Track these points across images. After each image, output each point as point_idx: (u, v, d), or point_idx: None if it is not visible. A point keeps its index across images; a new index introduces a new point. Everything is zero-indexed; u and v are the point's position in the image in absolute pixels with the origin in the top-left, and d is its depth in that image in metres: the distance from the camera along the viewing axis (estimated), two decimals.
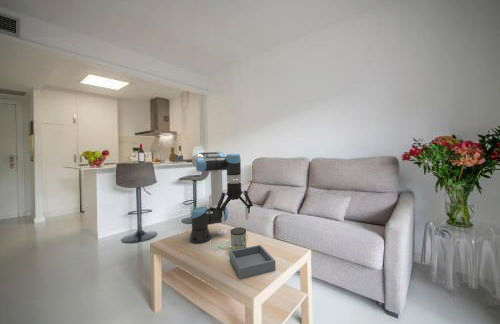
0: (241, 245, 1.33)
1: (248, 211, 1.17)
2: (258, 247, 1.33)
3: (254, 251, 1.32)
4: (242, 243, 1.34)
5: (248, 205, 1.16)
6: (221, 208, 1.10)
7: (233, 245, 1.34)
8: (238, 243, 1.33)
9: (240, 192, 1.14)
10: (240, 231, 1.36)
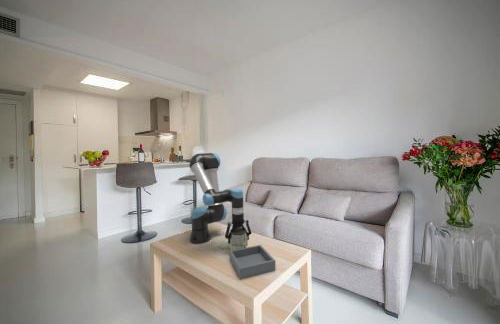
0: (241, 245, 1.33)
1: None
2: (258, 247, 1.33)
3: (254, 251, 1.32)
4: (242, 243, 1.34)
5: (248, 233, 1.39)
6: (229, 236, 1.34)
7: (233, 245, 1.34)
8: (238, 243, 1.33)
9: (243, 221, 1.37)
10: (240, 231, 1.36)
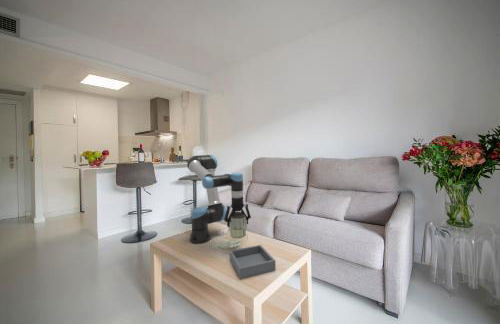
0: (240, 228, 1.33)
1: (247, 222, 1.39)
2: (258, 247, 1.33)
3: (254, 251, 1.32)
4: (241, 227, 1.33)
5: (247, 217, 1.38)
6: (228, 219, 1.34)
7: (232, 228, 1.34)
8: (238, 227, 1.32)
9: (242, 205, 1.36)
10: (239, 215, 1.35)
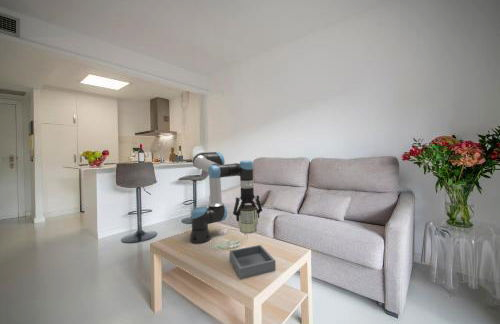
0: (251, 222, 1.19)
1: (258, 216, 1.25)
2: (258, 247, 1.33)
3: (254, 251, 1.32)
4: (252, 220, 1.19)
5: (258, 210, 1.24)
6: (238, 213, 1.20)
7: (242, 223, 1.19)
8: (248, 220, 1.18)
9: (253, 196, 1.23)
10: (250, 207, 1.21)
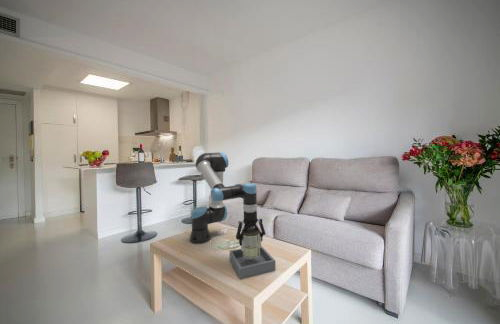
0: (254, 247, 1.17)
1: (261, 239, 1.23)
2: None
3: None
4: (255, 245, 1.17)
5: (261, 234, 1.22)
6: (240, 237, 1.18)
7: (245, 247, 1.17)
8: (251, 245, 1.16)
9: (256, 220, 1.20)
10: (253, 231, 1.19)
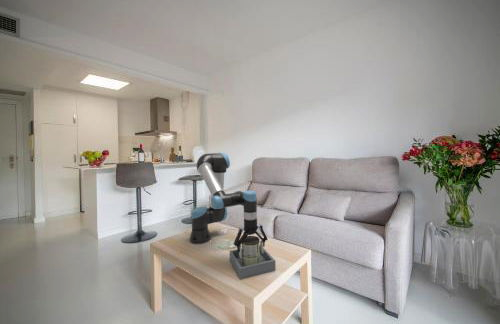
0: (254, 256, 1.17)
1: (263, 245, 1.23)
2: None
3: None
4: (255, 254, 1.17)
5: (263, 239, 1.23)
6: (239, 243, 1.17)
7: (245, 256, 1.18)
8: (251, 255, 1.17)
9: (256, 227, 1.21)
10: (253, 240, 1.20)
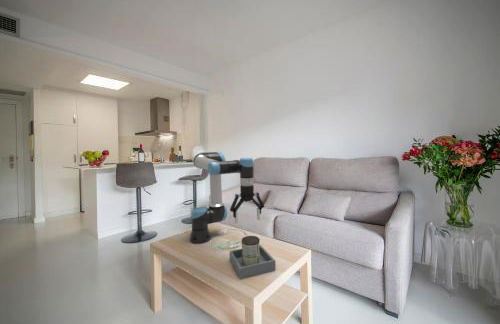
0: (254, 256, 1.17)
1: (260, 212, 1.23)
2: None
3: None
4: (255, 254, 1.17)
5: (260, 206, 1.23)
6: (235, 209, 1.17)
7: (245, 256, 1.18)
8: (251, 255, 1.17)
9: (252, 194, 1.20)
10: (253, 240, 1.20)
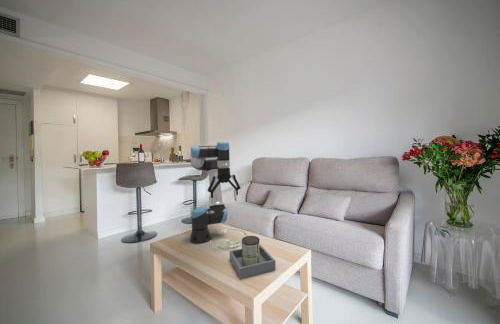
0: (254, 256, 1.17)
1: (236, 193, 1.32)
2: None
3: None
4: (255, 254, 1.17)
5: (236, 188, 1.31)
6: (212, 190, 1.25)
7: (245, 256, 1.18)
8: (251, 255, 1.17)
9: (229, 176, 1.29)
10: (253, 240, 1.20)
